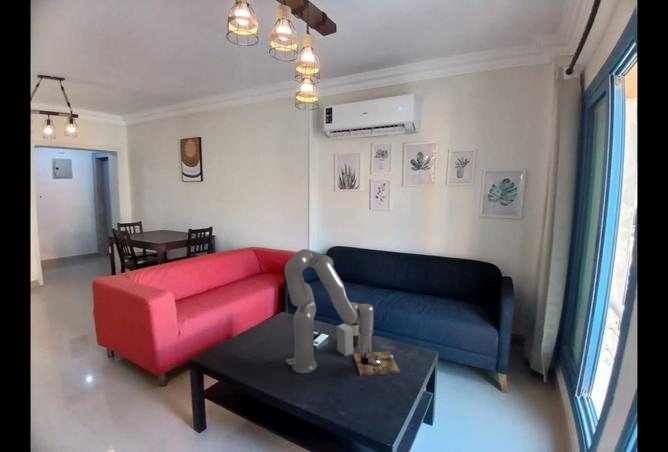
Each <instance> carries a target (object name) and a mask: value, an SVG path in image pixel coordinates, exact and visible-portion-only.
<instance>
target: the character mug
mask: <svg viewBox="0 0 668 452" xmlns="http://www.w3.org/2000/svg"><path fill="white" fill-rule="evenodd" d="M347 325H348V326H350V327H352V328H353V347H355V346H358V338H359V333H358V320H357V321H356V322H355V323H354V324H347Z"/></svg>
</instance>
